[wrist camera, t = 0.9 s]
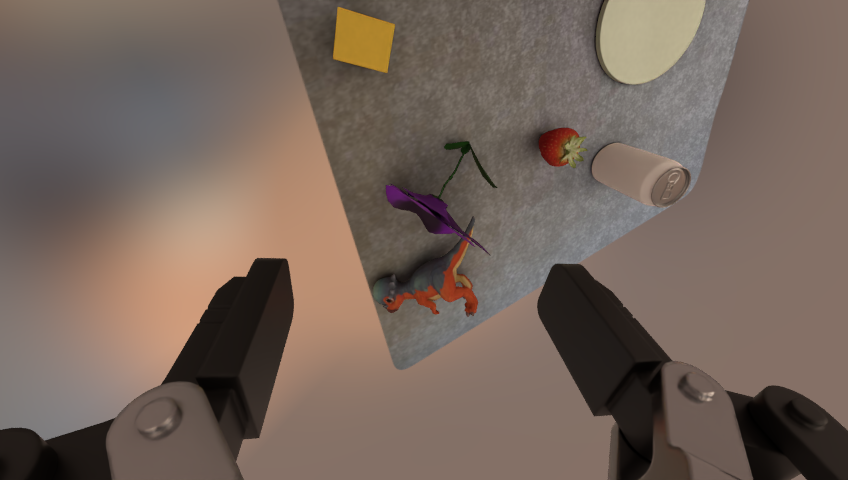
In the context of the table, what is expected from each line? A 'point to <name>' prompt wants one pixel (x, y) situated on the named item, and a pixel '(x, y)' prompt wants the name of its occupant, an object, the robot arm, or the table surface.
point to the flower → (434, 201)
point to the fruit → (561, 147)
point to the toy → (431, 282)
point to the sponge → (362, 40)
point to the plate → (644, 36)
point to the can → (641, 174)
